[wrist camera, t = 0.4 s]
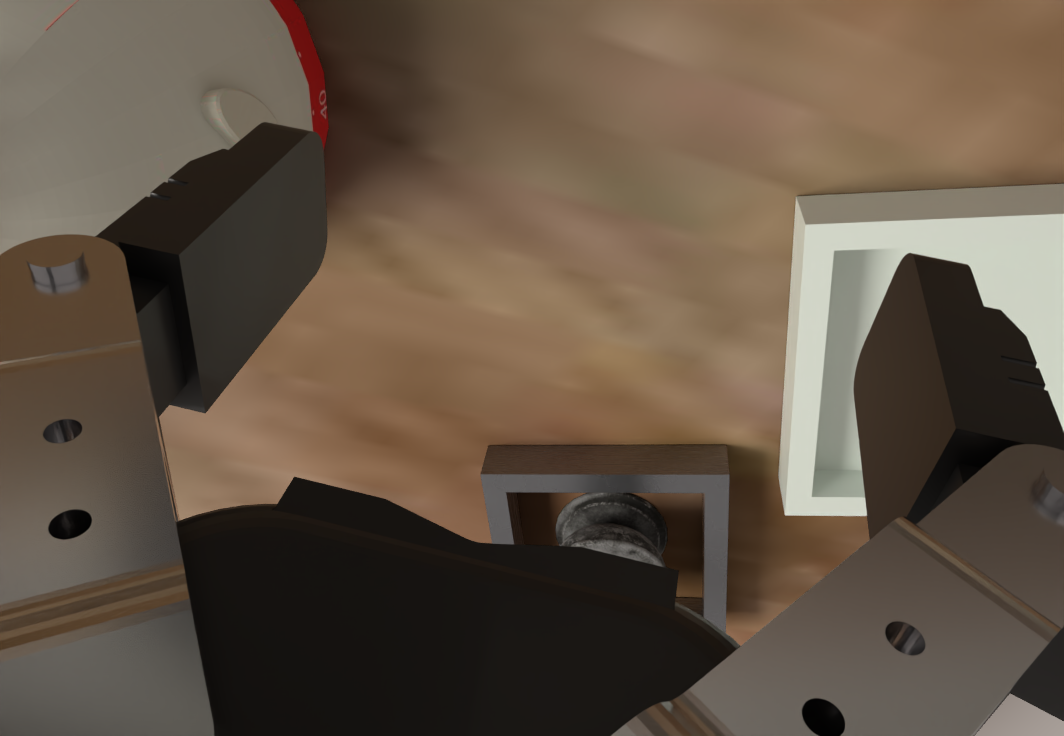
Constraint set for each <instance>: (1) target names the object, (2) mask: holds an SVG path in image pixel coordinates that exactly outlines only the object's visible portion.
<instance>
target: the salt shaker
mask: <svg viewBox="0 0 1064 736" xmlns="http://www.w3.org/2000/svg"><path fill="white" fill-rule="evenodd" d="M555 530H556V539H557V541H558V543H559V546H572V547H584V548H588V549H592V550H596V551H600V552H604V553H608V554H612V555H616V556H620V557H625V558H629V559H633V560H637V561H641V562H645V563H649V564H653V565H657V566H661V567H665V568H667V567H666V566H665V563H664V561H663V558H662V557H661V554H662V553H663V552H664V549H665V546H666V543H667V527H666V524H665V522H664V519H663V517H662V516H661V514H660V513H659V512H658V511H657V509H656V508H655V507H654V506H652V505H651V504H650V503H648V502H647V501H645V500H644V499H642V498H640V497H637V496H635V495H633V494H630V493H586V494H584V495H582V496H579V497H577V498H575V499H573V500H572V501H571V502H570V503H568V504H567V505H566V506H565V507H564V508H563V510H562V511H561V513H560V514H559V516H558V519H557V523H556V527H555Z"/></svg>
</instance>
